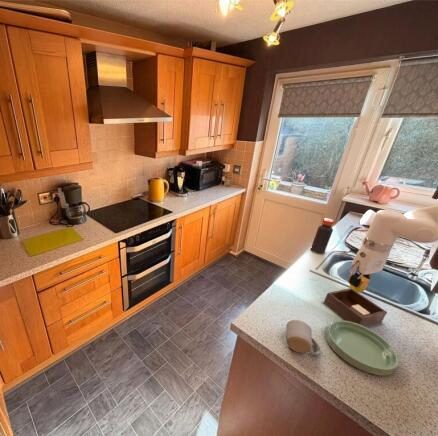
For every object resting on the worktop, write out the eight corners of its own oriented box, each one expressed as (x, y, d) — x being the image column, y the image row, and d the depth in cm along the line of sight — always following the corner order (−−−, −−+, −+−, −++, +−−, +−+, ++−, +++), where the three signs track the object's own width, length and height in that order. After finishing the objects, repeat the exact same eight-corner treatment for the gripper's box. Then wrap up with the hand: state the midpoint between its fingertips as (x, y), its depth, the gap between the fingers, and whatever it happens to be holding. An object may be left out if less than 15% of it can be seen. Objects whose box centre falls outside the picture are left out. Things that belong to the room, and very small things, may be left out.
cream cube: (354, 310, 94) (358, 304, 93) (366, 319, 90) (370, 313, 89) (348, 312, 93) (351, 305, 92) (359, 321, 89) (363, 314, 88)
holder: (346, 298, 102) (351, 287, 99) (380, 323, 90) (387, 312, 87) (323, 303, 99) (327, 292, 96) (355, 329, 87) (362, 318, 84)
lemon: (364, 292, 104) (371, 278, 101) (359, 297, 102) (367, 283, 98) (349, 286, 109) (355, 272, 105) (344, 290, 106) (351, 276, 102)
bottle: (325, 254, 132) (338, 223, 124) (312, 252, 134) (323, 221, 126) (322, 248, 138) (334, 218, 129) (309, 246, 140) (319, 217, 132)
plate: (351, 322, 90) (354, 316, 88) (408, 368, 74) (414, 361, 72) (313, 332, 86) (316, 325, 84) (365, 383, 70) (370, 375, 68)
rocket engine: (405, 217, 156) (373, 207, 162) (400, 231, 153) (368, 220, 160) (392, 224, 166) (363, 213, 173) (388, 237, 163) (358, 226, 170)
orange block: (354, 279, 92) (357, 272, 91) (366, 287, 88) (370, 280, 87) (347, 281, 92) (350, 274, 90) (359, 288, 88) (363, 281, 86)
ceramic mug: (283, 348, 80) (290, 333, 76) (283, 330, 86) (289, 316, 83) (320, 363, 75) (328, 348, 72) (317, 343, 82) (325, 328, 79)
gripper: (371, 252, 77) (350, 294, 85) (406, 246, 81) (383, 287, 88) (348, 241, 84) (331, 281, 91) (382, 236, 87) (362, 274, 95)
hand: (357, 283), depth 90 cm, fingers closed on orange block, 3 cm apart
